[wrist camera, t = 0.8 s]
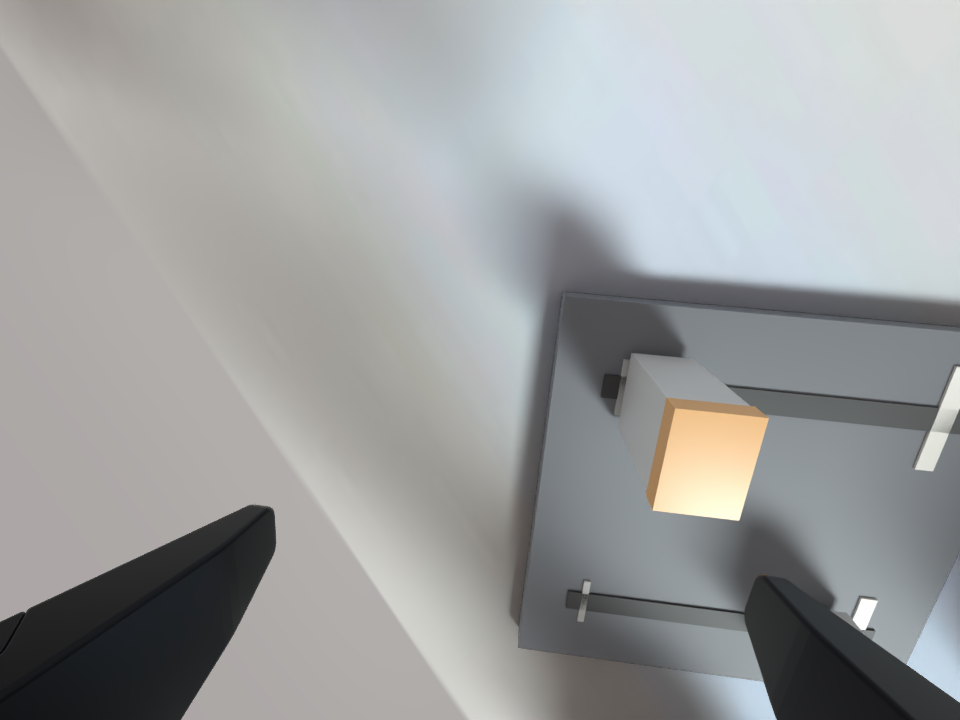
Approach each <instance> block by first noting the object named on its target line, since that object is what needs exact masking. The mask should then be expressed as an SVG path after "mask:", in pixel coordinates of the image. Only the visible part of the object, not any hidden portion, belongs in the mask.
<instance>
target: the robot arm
mask: <svg viewBox="0 0 960 720" xmlns="http://www.w3.org/2000/svg"><path fill="white" fill-rule="evenodd" d="M275 547H276V529H275V515H274V510H273V509H272V508H271V507H268V506H261V505H249V506H247V507H244V508H242V509H240V510H238V511H236V512H234V513H231V514H229V515H227V516H225V517H223V518H221V519H219V520H217V521H214V522H212V523H210V524H208V525H206V526H204V527H202V528H199V529H197V530H195V531H193V532H191V533H189V534H187V535H185V536H183V537H180V538H178V539H176V540H174V541H172V542H170V543H168V544H166V545H163V546H161V547H159V548H157V549H155V550H153V551H151V552H148V553H146V554H144V555H142V556H140V557H138V558H136V559H133V560H131V561H129V562H127V563H125V564H123V565H121V566H118V567H116V568H114V569H112V570H110V571H108V572H106V573H104V574H101V575H99V576H97V577H95V578H93V579H91V580H89V581H86V582H84V583H82V584H80V585H78V586H76V587H74V588H72V589H69V590H67V591H65V592H63V593H61V594H59V595H57V596H55V597H53V598H50V599H48V600H46V601H44V602H42V603H40V604H37V605H36V606H33V607H31V608H29V609H28V610H27V612H26V613H25V612H20V613H18V614H16V615H14V616H12V617H10V618H7V619H6V620H3V621H1V622H0V720H181V719H182V717H183V716H184V714H185V712H186V711H187V709H188V707H189V706H190V704H191V703H192V701H193V699H194V698H195V696H196V695H197V693H198V691H199V690H200V688H201V687H202V685H203V683H204V682H205V680H206V678H207V677H208V675H209V674H210V672H211V671H212V669H213V667H214V666H215V664H216V662H217V661H218V659H219V658H220V656H221V654H222V652H223V651H224V650H225V648H226V646H227V645H228V643H229V641H230V640H231V638H232V636H233V635H234V633H235V631H236V629H237V627H238V625H239V623H240V621H241V619H242V617H243V615H244V613H245V611H246V609H247V607H248V605H249V603H250V601H251V599H252V597H253V595H254V593H255V591H256V589H257V587H258V585H259V583H260V581H261V579H262V577H263V575H264V573H265V571H266V569H267V567H268V565H269V563H270V561H271V559H272V557H273V555H274V552H275ZM744 619H745V624H746V628H747V631H748V634H749V637H750V640H751V643H752V646H753V649H754V653H755V656H756V659H757V662H758V665H759V668H760V671H761V674H762V678H763V681H764V684H765V687H766V690H767V693H768V696H769V699H770V702H771V705H772V708H773V711H774V714H775V717H776V719H777V720H960V703H959V702H958V701H956V700H955V699H954V698H952V697H951V696H949V695H948V694H947V693H945V692H944V691H942V690H941V689H940V688H938V687H937V686H935V685H934V684H933V683H931V682H930V681H928V680H927V679H926V678H924V677H923V676H921V675H920V674H919V673H917V672H916V671H914V670H913V669H912V668H910V667H909V666H907V665H906V664H905V663H903V662H902V661H900V660H899V659H898V658H896V657H895V656H893V655H892V654H891V653H889V652H888V651H886V650H885V649H884V648H882V647H881V646H879V645H878V644H877V643H875V642H874V641H872V640H871V639H870V638H868V637H867V636H865V635H864V634H863V633H861V632H860V631H858V630H857V629H856V628H854V627H853V626H851V625H850V624H849V623H847V622H846V621H844V620H843V619H842V618H840V617H839V616H837V615H836V614H835V613H833V612H832V611H830V610H829V609H828V608H826V607H825V606H823V605H822V604H821V603H819V602H818V601H816V600H815V599H814V598H812V597H811V596H809V595H808V594H807V593H805V592H804V591H802V590H801V589H800V588H798V587H797V586H795V585H794V584H793V583H791V582H790V581H788V580H787V579H785V578H783V577H779V576H772V575H765V574H761V575H758V576H757V577H756V578H755V580H754V583H753V586H752V589H751V592H750V595H749V597H748V600H747V603H746V606H745V610H744Z"/></svg>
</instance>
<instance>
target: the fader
mask: <svg viewBox="0 0 960 720" xmlns="http://www.w3.org/2000/svg"><path fill="white" fill-rule="evenodd" d="M768 420H769V418H768V417H767V416H766V415H765V414H763V413H762V412H761V411H760V410H759V409H757V408H756V407H755V406H750V405H749V404H747V403H746V402H745V401H744V400H743V399H742V398H740V397H739V396H738V395H737V394H736V393H734V392H733V391H732V390H731V389H730V388H728V387H727V386H726V385H725V384H724V383H722V382H721V381H720V380H719V379H718V378H716V377H715V376H714V375H713V374H712V373H710V372H709V371H708V370H707V369H706V368H704V367H703V366H702V365H701V364H700V363H699V362H697V361H696V360H695V359H690V358H679V357H669V356H659V355H648V354H638V353H631V358H630V363H629V369H628V374H627V380H626V385H625V391H624V396H623V401H622V407H621V412H620V418H619V423H618V429H619V431H620V433H621V435H622V438H623V440H624V442H625V444H626V447H627V449H628V451H629V453H630V456H631V458H632V460H633V462H634V465H635V467H636V469H637V471H638V473H639V476H640V478H641V480H642V482H643V485H644V487H645V489H646V497H647V499H648V501H649V504H650V506H651V508H652V511H660V512H669V513H677V514H686V515H694V516H703V517H711V518H720V519H729V520H737V521H739V520H740V516H741V513H742V509H743V506H744V503H745V499H746V496H747V492H748V489H749V485H750V482H751V478H752V475H753V472H754V468H755V465H756V461H757V458H758V454H759V451H760V448H761V444H762V441H763V437H764V434H765V430H766V427H767V423H768Z"/></svg>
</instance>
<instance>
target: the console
mask: <svg viewBox="0 0 960 720" xmlns="http://www.w3.org/2000/svg"><path fill="white" fill-rule="evenodd" d="M631 353H638V354H648V355H659V356H669V357H679V358H690V359H695V360H696V361H697V362H699V363H700V364H701V365H702V366H703V367H704V368H706V369H707V370H708V371H709V372H710V373H712V374H713V375H714V376H715V377H716V378H718V379H719V380H720V381H721V382H722V383H724V384H725V385H726V386H727V387H728V388H730V389H731V390H732V391H733V392H734V393H736V394H737V395H738V396H739V397H740V398H742V399H743V400H744V401H745V402H746V403H747V404H749V405H750V406H755V407H756V408H757V409H759V410H760V411H761V412H762V413H763V414H765V415H766V416H767V417H768V418H769V420H768V423H767V427H766V430H765V434H764V437H763V441H762V444H761V448H760V451H759V454H758V458H757V461H756V465H755V468H754V472H753V475H752V478H751V482H750V485H749V489H748V492H747V496H746V499H745V503H744V506H743V509H742V513H741V516H740V520H739V521H737V520H729V519H720V518H711V517H703V516H694V515H686V514H677V513H669V512H660V511H652V508H651V506H650V504H649V501H648V499H647V497H646V489H645V487H644V485H643V482H642V480H641V478H640V476H639V473H638V471H637V469H636V467H635V465H634V462H633V460H632V458H631V456H630V453H629V451H628V449H627V447H626V444H625V442H624V440H623V438H622V435H621V433H620V431H619V429H618V423H619V418H620V412H621V407H622V401H623V396H624V391H625V385H626V380H627V374H628V369H629V363H630V358H631ZM959 552H960V327H953V326H942V325H931V324H919V323H908V322H897V321H886V320H875V319H863V318H852V317H841V316H830V315H819V314H808V313H796V312H785V311H774V310H763V309H752V308H740V307H729V306H718V305H707V304H696V303H684V302H673V301H662V300H651V299H640V298H628V297H617V296H606V295H595V294H584V293H573V292H562V298H561V306H560V314H559V321H558V329H557V337H556V344H555V352H554V360H553V367H552V375H551V383H550V390H549V398H548V406H547V413H546V421H545V429H544V436H543V444H542V452H541V459H540V467H539V475H538V482H537V490H536V498H535V505H534V513H533V521H532V528H531V536H530V544H529V551H528V559H527V567H526V574H525V582H524V590H523V597H522V605H521V613H520V620H519V632H518V648H523V649H531V650H538V651H545V652H552V653H560V654H567V655H574V656H581V657H589V658H596V659H603V660H610V661H618V662H625V663H632V664H639V665H647V666H654V667H661V668H668V669H676V670H683V671H690V672H697V673H705V674H712V675H719V676H726V677H734V678H741V679H748V680H755V681H763V678H762V674H761V671H760V668H759V665H758V662H757V659H756V656H755V653H754V649H753V646H752V643H751V640H750V637H749V634H748V631H747V628H746V624H745V619H744V610H745V606H746V603H747V600H748V597H749V595H750V592H751V589H752V586H753V583H754V580H755V578H756V577H757V576H758V575H761V574H765V575H772V576H779V577H783V578H785V579H787V580H788V581H790V582H791V583H793V584H794V585H795V586H797V587H798V588H800V589H801V590H802V591H804V592H805V593H807V594H808V595H809V596H811V597H812V598H814V599H815V600H816V601H818V602H819V603H821V604H822V605H823V606H825V607H826V608H828V609H829V610H830V611H837V612H845V613H847V614H848V615H849V616H850V617H851V618H852V620H853V621H854V622H855V623H856V625H857V626H858V627H859V628H860V630H861V631H862V632H863V633H864V634H865V636H867V637H868V638H870V639H871V640H872V641H874V642H875V643H877V644H878V645H879V646H881V647H882V648H884V649H885V650H886V651H888V652H889V653H891V654H892V655H893V656H895V657H896V658H898V659H899V660H900V661H902V662H903V663H905V664H907V662H908V660H909V658H910V655H911V653H912V651H913V649H914V647H915V645H916V643H917V641H918V639H919V636H920V634H921V632H922V630H923V628H924V626H925V624H926V622H927V620H928V617H929V615H930V613H931V611H932V609H933V607H934V605H935V603H936V601H937V598H938V596H939V594H940V592H941V590H942V588H943V586H944V584H945V582H946V579H947V577H948V575H949V573H950V571H951V569H952V567H953V565H954V563H955V560H956V558H957V556H958V554H959ZM763 682H764V681H763Z"/></svg>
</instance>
